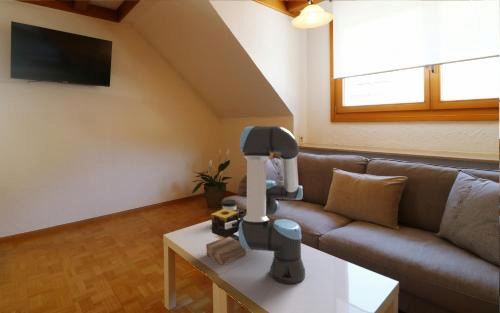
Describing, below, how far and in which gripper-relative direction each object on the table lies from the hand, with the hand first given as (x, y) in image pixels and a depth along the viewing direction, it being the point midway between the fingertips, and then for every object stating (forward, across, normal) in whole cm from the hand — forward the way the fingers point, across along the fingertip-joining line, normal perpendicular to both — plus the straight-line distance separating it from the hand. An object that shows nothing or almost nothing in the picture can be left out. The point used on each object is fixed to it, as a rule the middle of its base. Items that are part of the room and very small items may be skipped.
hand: (218, 222), depth 131 cm
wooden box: (-3, 0, -18) cm, 19 cm away
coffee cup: (-26, +35, -19) cm, 47 cm away
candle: (-4, 0, -6) cm, 7 cm away
